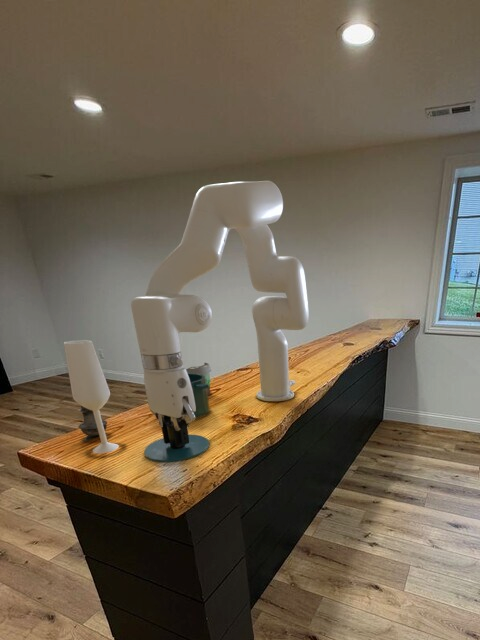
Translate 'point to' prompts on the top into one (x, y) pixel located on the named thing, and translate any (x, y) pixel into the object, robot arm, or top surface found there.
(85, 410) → the grey lumpy figure
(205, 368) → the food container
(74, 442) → the top surface
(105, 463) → the top surface
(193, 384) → the pot
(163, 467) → the top surface
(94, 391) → the champagne flute
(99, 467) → the top surface
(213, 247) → the robot arm
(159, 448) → the lid
